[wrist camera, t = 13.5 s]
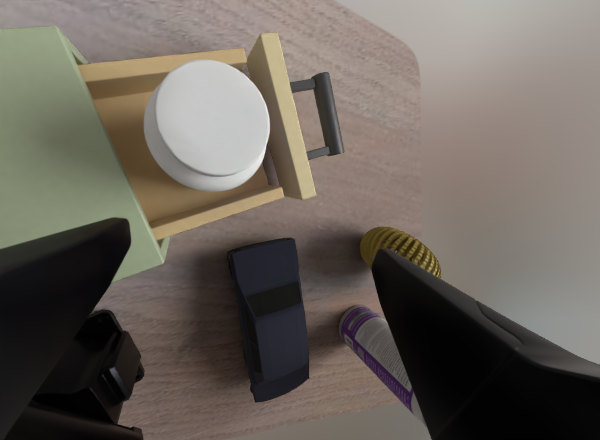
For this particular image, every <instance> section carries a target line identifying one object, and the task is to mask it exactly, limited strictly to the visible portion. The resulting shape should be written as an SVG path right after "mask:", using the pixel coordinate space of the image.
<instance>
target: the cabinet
mask: <svg viewBox="0 0 600 440" xmlns="http://www.w3.org/2000/svg"><path fill="white" fill-rule="evenodd" d="M82 64H89V63H88V62H87V61H86V59H85V58H84V57H83V56H82V55H81V54H80V53H79V51H78V50H77V49H76V48H75V47H74V46H73V44H72V43H71V42H70V41H69V40H68V39H67V38H66V36H65V35H64V34H63V33H62V32H61V31H60V30H59V28H58V27H56V26H46V27H28V28H10V29H0V249H2V248H5V247H9V246H12V245H16V244H19V243H23V242H26V241H30V240H33V239H37V238H41V237H44V236H48V235H51V234H55V233H58V232H62V231H65V230H69V229H72V228H76V227H80V226H83V225H87V224H90V223H94V222H97V221H101V220H104V219H108V218H111V217H118V218H126V219H127V220H128V221H129V223H130V231H131V246H130V248H129V250H128V252H127V254H126V256H125V258H124V260H123V262H122V264H121V265H120V267H119V269H118V271H117V273H116V275H115V277H114V279H113V281H112V282H111V283H113V282H115V281H118V280H121V279H123V278H126V277H129V276H131V275H134V274H137V273H139V272H142V271H145V270H148V269H150V268H153V267H156V266H158V265H161V264H163V263H164V261H165V257H166V253H167V249H168V245H169V242H170V238H169V237H166V238H163V239H160V240H157V241H156V238H155V236H154V234H153V232H152V230H151V227H150V225H149V223H148V221H147V218H146V216H145V214H144V212H143V210H142V207H141V205H140V203H139V201H138V198H137V196H136V194H135V192H134V190H133V187H132V185H131V183H130V181H129V178H128V176H127V174H126V172H125V170H124V167H123V165H122V163H121V161H120V159H119V156H118V154H117V152H116V150H115V147H114V145H113V143H112V141H111V139H110V136H109V134H108V132H107V130H106V127H105V125H104V123H103V121H102V119H101V116H100V114H99V112H98V110H97V107H96V105H95V103H94V101H93V99H92V96H91V94H90V92H89V90H88V87H87V85H86V83H85V81H84V79H83V76H82V74H81V72H80V70H79V67H78V65H82Z"/></svg>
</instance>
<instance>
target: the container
mask: <svg viewBox="0 0 600 440" xmlns="http://www.w3.org/2000/svg"><path fill="white" fill-rule="evenodd" d="M339 335H340V337H341V338H342V340H343V341H344V342H345V343H346V344H347V345H348V346H349V347H350V348H351V349H352V350H353V351H354V352H355V353H356V354H357V356H358V357H359V358H360V359H361V360H362V361H363V362H364V363H365V364H366V365H367V366H368V367H369V368H370V369H371V370H372V371H373V372H374V373H375V374H376V375H377V377H378V378H379V379H380V380H381V381H382V382H383V383H384V384H385V385H386V386H387V387H388V388H389V389H390V390H391V391H392V392H393V393H394V394H395V395H396V396H397V398H398V399H399V400H400V401H401V402H402V403H403V404H404V405H405V406H406V407H407V408H408V409H409V410H410V411H411V412H412V413H413V414H414V415H415V416H416V417H417V418H418V419H419V420H420V421H421V422H422V423H423V424H424V425H425V426H426V423H425V421H424V418H423V415H422V413H421V410H420V407H419V405H418V402H417V399H416V397H415V394H414V392H413V389H412V386H411V384H410V381H409V378H408V376H407V373H406V371H405V368H404V365H403V363H402V360H401V357H400V355H399V352H398V349H397V347H396V344H395V342H394V339H393V336H392V334H391V331H390V328H389V326H388V323H387V321H385V320H384V319H382V318H381V317H380V316H378V315H377V314H376V313H374V312H373V311H371V310H370V309H369V308H367V307H366V306H363V305H356V306H353V307H351V308H350V309H349V310H347V311H346V312H345V314H344V315H343V316H342V318H341V320H340V323H339ZM426 427H427V426H426Z"/></svg>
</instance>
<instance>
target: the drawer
mask: <svg viewBox="0 0 600 440" xmlns="http://www.w3.org/2000/svg"><path fill="white" fill-rule="evenodd" d="M205 59H206V60H214V61H219V62H222V63H225V64H228V65H230V66H232V67H234V68H236V69H237V70H239V71H240V72H242V70H243V69H244V67H245V65H247V69H248V72H249V76H250V80H251V81H252V82H253V83H254V85H255V86H256V87H257V89H258V90H259V92H260V93H261V95H262V97H263V99H264V101H265V103H266V106H267V109H268V114H269V119H270V132H269V138H268V144H269V148H270V152H271V155H272V159H273V162H274V166H275V170H276V173H277V177H278V180H279V184H280V187H277V186H269V184H268V180H267V177H266V173H265V170H264V167H263V163H261V165H260V166H259V168H258V169H257V171H256V172H255V173H254V174H253V176H252V177H251V178H249V179H248V180H247V181H246V182H244V183H243V184H241V185H239V186H237V187H235V188H233V189H229V190H225V191H219V192H206V191H200V190H195V189H192V188H189V187H187V186H185V185H183V184H181V183H179V182H177V181H176V180H174V179H173V178H172V177H170V176H169V175H168V174H167V173H166V172H165V171H164V170H163V169H162V168H161V167H160V166H159V165H158V163H157V162H156V161H155V159H154V157H153V156H152V154H151V152H150V150H149V148H148V145H147V142H146V139H145V134H144V114H145V109H146V105H147V102H148V100H149V98H150V96H151V94H152V93H153V92H154V90H155V89H156V88H157V87H158V86H159V85H160V84H161V83H162V81H163V80H164V78H165V77H166V76H167V75H168V74H169V73H170V72H171V71H172V70H173V69H175V68H176V67H178V66H180V65H182V64H184V63H186V62H189V61H193V60H205ZM78 67H79V70H80V72H81V74H82V76H83V79H84V81H85V83H86V85H87V87H88V90H89V92H90V94H91V96H92V99H93V101H94V103H95V105H96V107H97V110H98V112H99V114H100V116H101V119H102V121H103V123H104V125H105V127H106V130H107V132H108V134H109V136H110V139H111V141H112V143H113V145H114V147H115V150H116V152H117V154H118V156H119V159H120V161H121V163H122V165H123V167H124V170H125V172H126V174H127V176H128V178H129V181H130V183H131V185H132V187H133V190H134V192H135V194H136V196H137V198H138V201H139V203H140V205H141V207H142V210H143V212H144V214H145V216H146V218H147V221H148V223H149V225H150V227H151V230H152V232H153V234H154V236H155V238H156V241H157V240H160V239H163V238H166V237H169V236H172V235H175V234H178V233H181V232H184V231H187V230H189V229H192V228H195V227H198V226H201V225H204V224H207V223H210V222H213V221H216V220H219V219H222V218H225V217H228V216H231V215H234V214H237V213H240V212H243V211H246V210H249V209H251V208H254V207H257V206H260V205H263V204H266V203H269V202H272V201H275V200H278V199H281V198H284V196H286V197H291V198H296V199H300V200H305V199H307V198H310V197H313V196H316V192H315V188H314V184H313V179H312V175H311V171H310V167H309V163H308V160H310V159H313V158H317V157H320V156H323V155H328V156H333V155H337V154H341V153H343V152H344V147H343V142H342V137H341V132H340V127H339V122H338V117H337V112H336V107H335V101H334V96H333V91H332V86H331V81H330V76H329V73H328V72H323V73H319V74H317V75H315V76H313V77H312V78H311V79H308V80H302V81H296V82H290V83H289V79H288V75H287V70H286V66H285V62H284V58H283V54H282V49H281V45H280V41H279V37H278V33H277V32H276V33H264V34H260V35H259V37H258V39H257V41H256V43H255V45H254V47H253V49H252V51H251V52H250V54H249V56H248V58H247V59H246V56H245V52H244V49H243V48H237V49H228V50H218V51H208V52H199V53H189V54H179V55H169V56H160V57H150V58H140V59H131V60H121V61H111V62H102V63H92V64H82V65H78ZM311 89H313V90H314V95H315V99H316V104H317V109H318V113H319V118H320V122H321V127H322V132H323V136H324V141H325V146H326V147H323V148H319V149H315V150H312V151H308V152H306V150H305V146H304V142H303V137H302V133H301V129H300V125H299V121H298V116H297V112H296V108H295V104H294V100H293V96H292V93H295V92H300V91H306V90H311Z"/></svg>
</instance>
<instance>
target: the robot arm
mask: <svg viewBox="0 0 600 440" xmlns="http://www.w3.org/2000/svg"><path fill="white" fill-rule="evenodd" d="M130 246H131V231H130V223H129V221H128V220H127V219H126V218H118V217H111V218H108V219H104V220H101V221H97V222H94V223H90V224H87V225H83V226H80V227H76V228H72V229H69V230H65V231H62V232H58V233H55V234H51V235H48V236H44V237H41V238H37V239H33V240H30V241H26V242H23V243H19V244H16V245H12V246H9V247H5V248H2V249H0V440H143V435H142V429H140V428H137V427H134V426H133V427H132V428H129V427H125V426H122V425H119V424H118V420H119V416H120V413H121V409H122V405H123V402H125V401H127V400H129V398H130V396H131V394H132V391H133V387H134V383H136V382H138V381H140V380H141V379H142V378H143V376H144V372H145V371H144V368H143V366H142V364H141V363H140V359H141V355H140V353H139V351H138V349H137V347H136V346H135V344H134V342H133V340H132V338H131V337H130V335H129V333H128V332H127V331H124V330H122V328H121V326H120V325H119V323H118V321H117V319H116V317H115V316H114V314H113V312H112V311H110V310H102V311H100V312H97V313H95V314H92V315H90V314H91V312H92V311H93V309H94V308H95V306H96V305H97V303H98V302H99V300H100V299H101V298H102V296H103V295H104V293H105V292H106V290H107V289H108V287H109V286H110V284H111V282H112V281H113V279H114V277H115V275H116V273H117V271H118V269H119V267H120V265H121V264H122V262H123V260H124V258H125V256H126V254H127V252H128V250H129V248H130ZM371 270H372V274H373V278H374V282H375V286H376V290H377V294H378V297H379V301H380V304H381V307H382V310H383V313H384V315H385V318H386V320H387V323H388V326H389V328H390V331H391V334H392V336H393V339H394V342H395V344H396V347H397V349H398V352H399V355H400V357H401V360H402V363H403V365H404V368H405V371H406V373H407V376H408V378H409V381H410V384H411V386H412V389H413V392H414V394H415V397H416V399H417V402H418V405H419V407H420V410H421V413H422V415H423V418H424V421H425V423H426V426H427V428H428V431H429V434H430V436H431V439H432V440H600V365H599V364H596V363H593V362H590V361H588V360H586V359H583V358H581V357H578V356H577V355H574V354H573V353H571V352H569V351H567V350H565V349H563V348H561V347H560V346H558V345H556V344H554V343H552V342H550V341H548V340H546V339H545V338H543V337H541V336H539V335H537V334H535V333H534V332H532V331H530V330H528V329H526V328H524V327H523V326H521V325H519V324H517V323H515V322H514V321H511V320H510V319H508V318H506V317H505V316H503V315H501V314H499V313H498V312H496V311H494V310H492V309H491V308H489V307H487V306H486V305H484V304H482V303H480V302H479V301H475V299H474V298H472V297H470V296H468V295H467V294H465V293H463V292H461V291H460V290H458V289H457V288H455V287H453V286H451V285H450V284H448V283H446V282H445V281H443V280H441V279H440V278H438V277H436V276H435V275H433V274H431V273H429V272H428V271H426V270H424V269H423V268H421V267H419V266H418V265H416V264H414V263H412V262H411V261H409V260H407V259H406V258H404V257H402V256H401V255H399V254H397V253H396V252H394V251H392V250H390V249H385V248H380V249H379V250H378V251H377V253H376V256H375V258H374V260H373V263H372V266H371ZM89 315H90V316H89ZM101 316H107V317H108V319H102V318H101ZM137 373H139V375H137Z"/></svg>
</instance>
